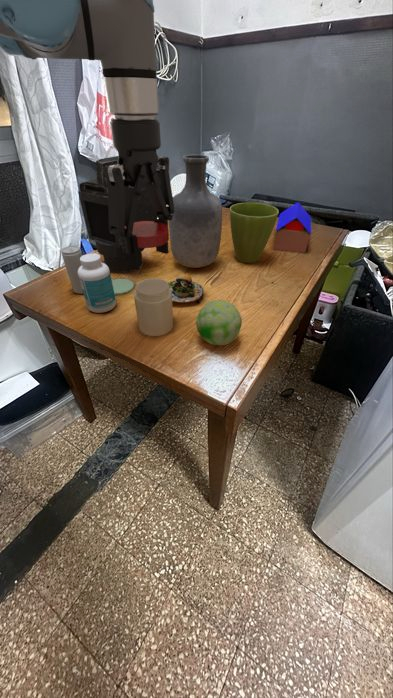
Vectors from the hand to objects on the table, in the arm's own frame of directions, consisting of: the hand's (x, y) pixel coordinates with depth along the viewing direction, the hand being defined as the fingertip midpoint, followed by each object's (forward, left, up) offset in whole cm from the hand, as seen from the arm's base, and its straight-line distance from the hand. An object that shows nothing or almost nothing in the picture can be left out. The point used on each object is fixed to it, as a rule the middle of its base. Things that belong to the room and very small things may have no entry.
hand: (148, 259), depth 58 cm
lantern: (+5, +35, -17) cm, 39 cm away
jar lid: (0, 0, +6) cm, 6 cm away
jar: (0, 0, -17) cm, 17 cm away
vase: (+25, +25, -17) cm, 39 cm away
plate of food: (+12, +9, -17) cm, 23 cm away
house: (+67, +25, -17) cm, 74 cm away
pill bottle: (-9, +15, -17) cm, 24 cm away
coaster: (-2, +22, -17) cm, 28 cm away
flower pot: (+43, +20, -17) cm, 50 cm away
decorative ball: (+10, -12, -17) cm, 23 cm away
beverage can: (-12, +25, -17) cm, 33 cm away
